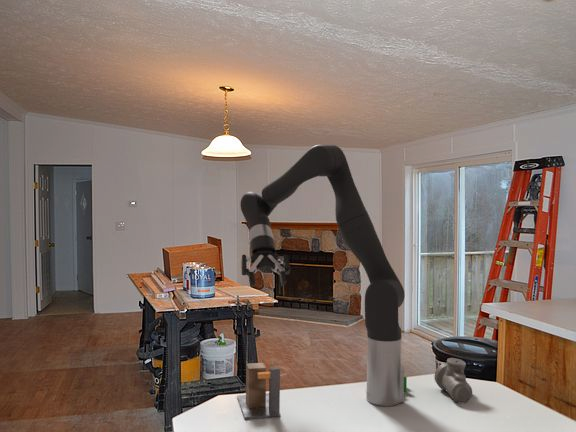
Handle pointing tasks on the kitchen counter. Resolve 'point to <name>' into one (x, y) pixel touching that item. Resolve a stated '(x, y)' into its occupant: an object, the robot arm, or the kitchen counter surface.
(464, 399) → the pipe fitting
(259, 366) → the link block
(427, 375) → the kitchen counter surface
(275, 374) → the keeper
